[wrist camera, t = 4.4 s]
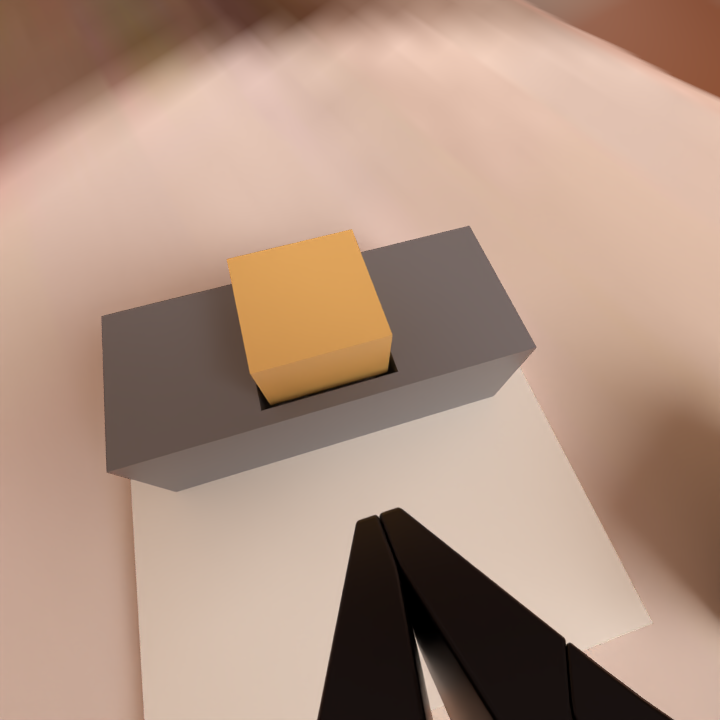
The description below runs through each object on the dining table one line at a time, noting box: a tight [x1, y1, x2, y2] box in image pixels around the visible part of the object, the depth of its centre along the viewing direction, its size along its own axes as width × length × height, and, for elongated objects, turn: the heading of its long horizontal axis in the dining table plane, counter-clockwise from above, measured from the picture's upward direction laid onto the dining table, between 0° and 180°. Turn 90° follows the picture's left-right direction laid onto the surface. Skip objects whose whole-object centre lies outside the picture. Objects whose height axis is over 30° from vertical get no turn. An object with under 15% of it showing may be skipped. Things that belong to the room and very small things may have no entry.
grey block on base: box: [102, 226, 653, 720], centre depth 17 cm, size 18×20×7 cm
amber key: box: [227, 229, 392, 405], centre depth 15 cm, size 5×5×3 cm
